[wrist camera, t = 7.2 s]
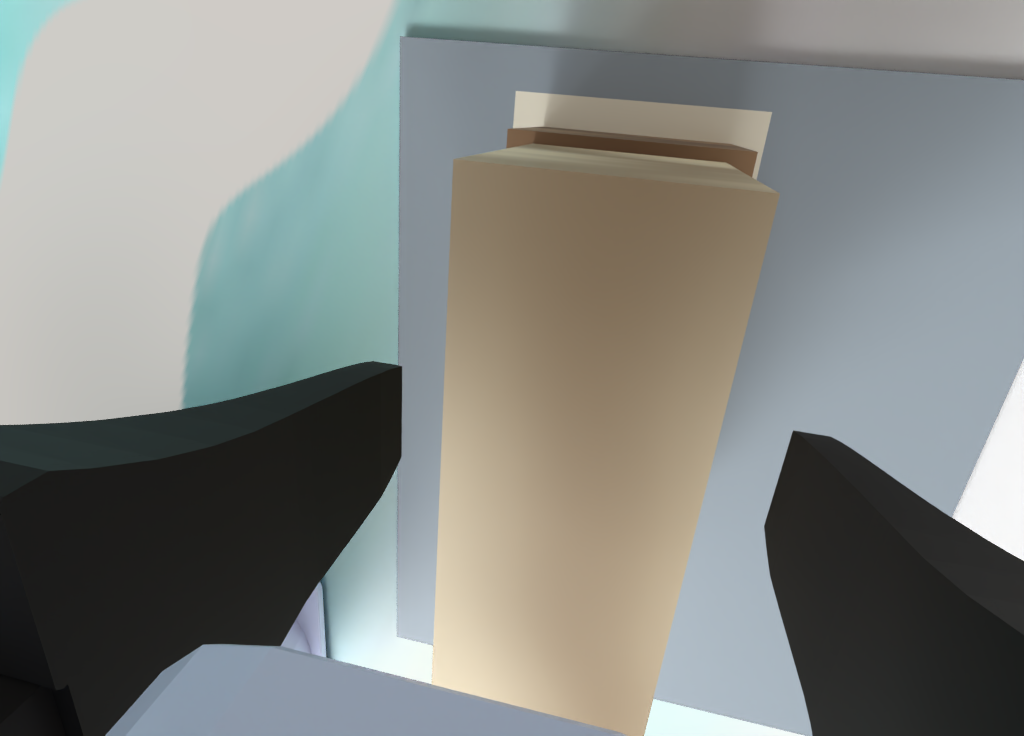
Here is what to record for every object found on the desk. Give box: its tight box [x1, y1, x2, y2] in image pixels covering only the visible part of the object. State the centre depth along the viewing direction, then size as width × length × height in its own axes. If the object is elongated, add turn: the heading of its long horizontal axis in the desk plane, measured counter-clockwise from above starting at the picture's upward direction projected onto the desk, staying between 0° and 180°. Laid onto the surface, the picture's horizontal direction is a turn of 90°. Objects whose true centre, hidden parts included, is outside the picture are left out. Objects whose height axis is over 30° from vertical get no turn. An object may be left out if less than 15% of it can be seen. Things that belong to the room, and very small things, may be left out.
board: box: [397, 36, 1024, 736], centre depth 18 cm, size 16×20×1 cm
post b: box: [506, 127, 758, 177], centre depth 14 cm, size 4×4×4 cm
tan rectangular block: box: [432, 143, 780, 736], centre depth 11 cm, size 4×10×5 cm, turn 175°
